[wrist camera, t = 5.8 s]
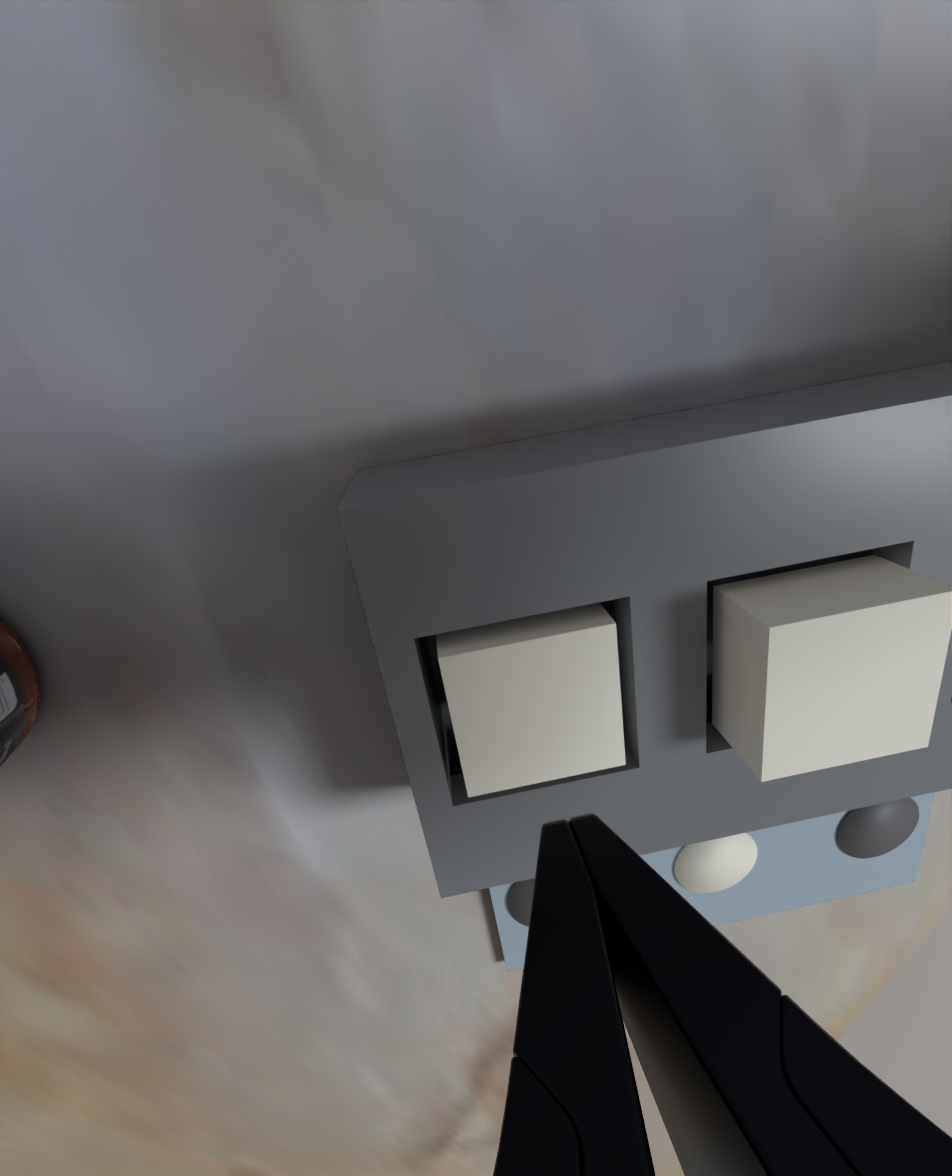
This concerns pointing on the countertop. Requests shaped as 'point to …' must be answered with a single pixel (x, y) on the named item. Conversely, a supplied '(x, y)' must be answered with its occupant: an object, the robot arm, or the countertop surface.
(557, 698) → the button
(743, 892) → the pattern card
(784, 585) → the button middle
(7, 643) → the supplement bottle
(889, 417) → the button board
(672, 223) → the countertop surface
